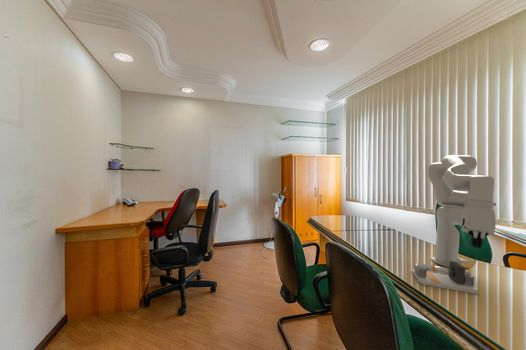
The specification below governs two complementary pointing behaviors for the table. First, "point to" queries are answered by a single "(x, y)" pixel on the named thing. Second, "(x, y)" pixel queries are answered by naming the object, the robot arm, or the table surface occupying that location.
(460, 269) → the collar
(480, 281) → the table surface
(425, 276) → the pipe jig
